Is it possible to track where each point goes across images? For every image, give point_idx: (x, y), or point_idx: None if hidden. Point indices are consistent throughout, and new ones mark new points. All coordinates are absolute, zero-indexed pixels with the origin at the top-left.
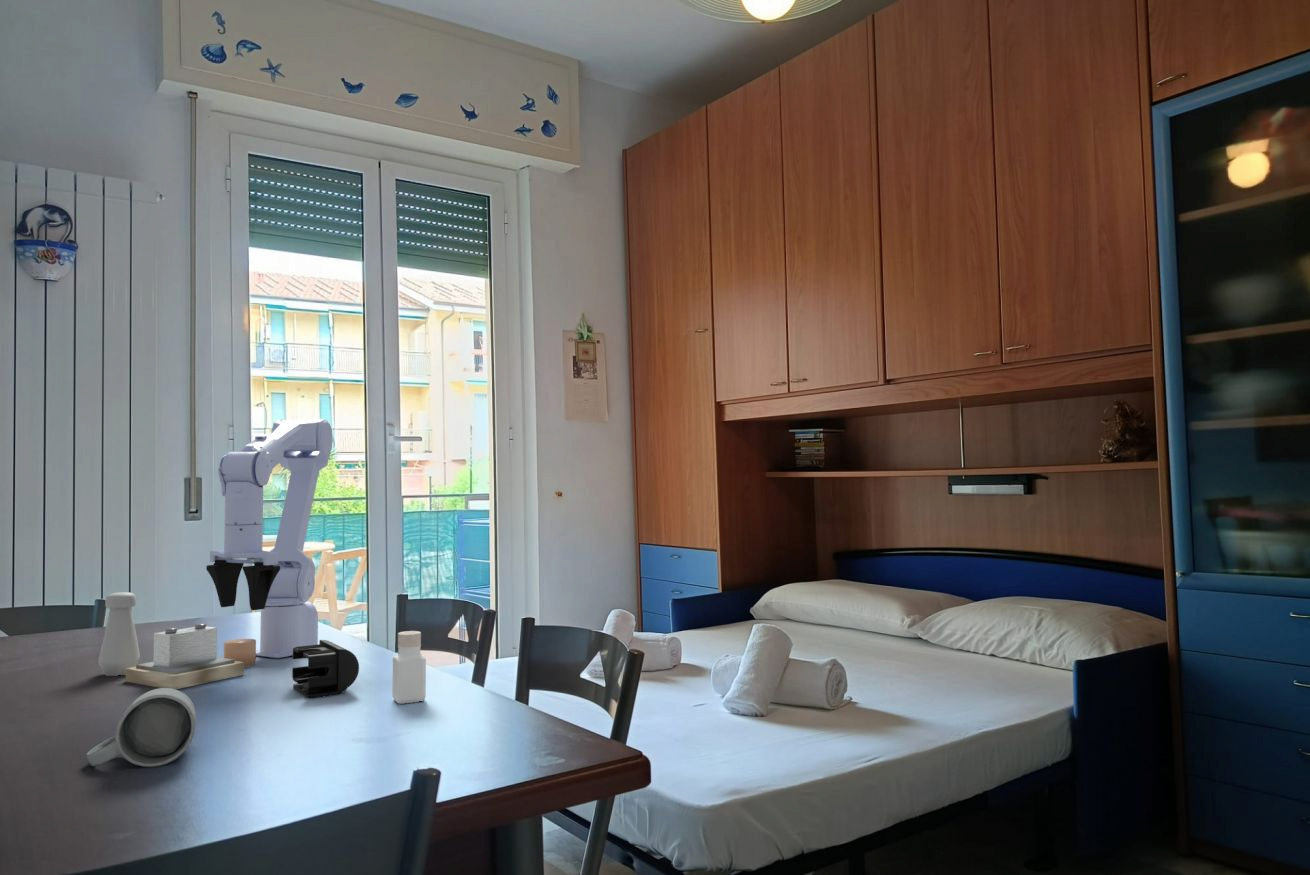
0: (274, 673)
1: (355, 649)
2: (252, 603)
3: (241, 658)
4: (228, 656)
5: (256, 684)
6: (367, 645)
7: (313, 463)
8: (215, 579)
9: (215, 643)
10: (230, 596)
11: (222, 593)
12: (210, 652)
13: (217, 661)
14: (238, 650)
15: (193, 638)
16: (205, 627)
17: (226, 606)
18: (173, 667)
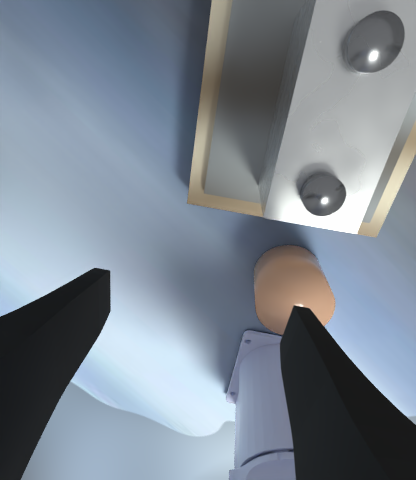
0: (143, 226)
1: (177, 410)
2: (76, 278)
3: (262, 264)
4: (292, 257)
5: (81, 122)
6: (184, 433)
7: None
8: (377, 416)
9: (261, 195)
10: (291, 365)
11: (309, 351)
12: (263, 172)
13: (227, 158)
14: (270, 271)
15: (284, 114)
16: (300, 198)
17: (290, 318)
18: (288, 31)
